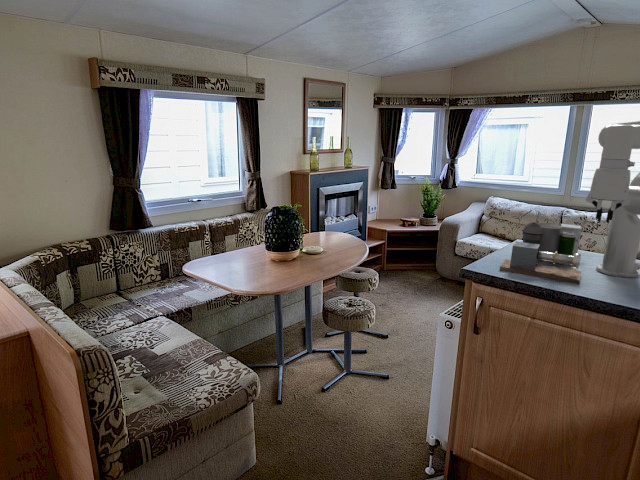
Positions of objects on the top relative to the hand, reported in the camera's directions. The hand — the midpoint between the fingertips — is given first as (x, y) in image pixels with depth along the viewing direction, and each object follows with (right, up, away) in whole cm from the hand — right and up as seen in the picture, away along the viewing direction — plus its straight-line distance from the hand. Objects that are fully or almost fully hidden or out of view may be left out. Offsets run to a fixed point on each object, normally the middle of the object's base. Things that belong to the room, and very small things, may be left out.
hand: (603, 221), depth 136 cm
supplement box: (+10, -13, +37) cm, 41 cm away
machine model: (-14, -18, +14) cm, 27 cm away
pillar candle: (-2, -14, +32) cm, 35 cm away
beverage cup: (-11, -15, +28) cm, 33 cm away
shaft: (-11, -15, +11) cm, 22 cm away
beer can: (+2, -15, +26) cm, 30 cm away
